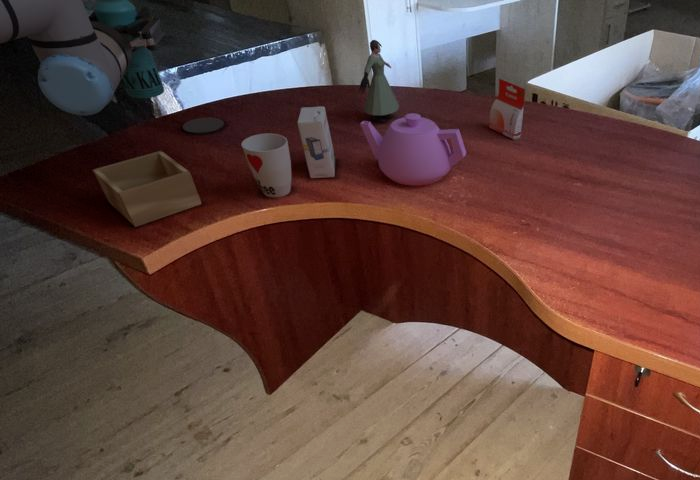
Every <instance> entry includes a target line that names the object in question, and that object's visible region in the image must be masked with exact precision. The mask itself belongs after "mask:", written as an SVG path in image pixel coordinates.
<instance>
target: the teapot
mask: <svg viewBox="0 0 700 480" xmlns="http://www.w3.org/2000/svg"><path fill="white" fill-rule="evenodd" d="M359 124H360V127H361V129H362V131H363V134H364V136H365V139H366V141H367V142H368V146H369V147H370V149H371V152H372V154H373V156H374V158H375V160H377V161H378V167H379V169H380V171H381V172H382V173H383V174H384V175H385V176H386V177H388V179H390V180H391V181H392V182H395V183H396V184H399V185H404V186H413V187H418V186H419V187H420V186H421V187H422V186H428V185H432V184H435V183H437V182H439V181H441V180H442V179H443V178H444V177H445V176H446V175H447V174H448V173H449V171H450V170H452V167H453V166H455V165H456V164H457V163H459V162H460V161H461V160H463V159H464V158H465V157H466V155H467V150H466V147H465V144H464V141H463V138H462V135H461V134H462V133H461V131H460V129H459V128H452V129H451V128H449V129H440V127H439V126H438V125H437V124H436V123H435V122H434V121H433V120H431V119H429V118H426V117H421V114H418V113H416V112H415V113H414V112H410V113H407V114H405V115H404V117H399V118H398V119H395V120H394V121H392V122H391V123H390V125H389V126H388V128H387V130H386V131H385V134H384V136H382V135H381V134H380V132H379V131H378V130H377V129H376V127H374V125H373V123H372V122H371V121H368V120H362V121H361V122H360V123H359ZM449 139H450V143H451V147H452V151H451V147H450V145H449V143H448V140H449ZM443 176H444V177H443ZM441 177H442V178H441ZM439 178H440V179H439ZM437 179H438V180H437ZM434 180H435V181H434ZM430 181H431V182H430ZM425 182H426V183H425Z"/></svg>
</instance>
